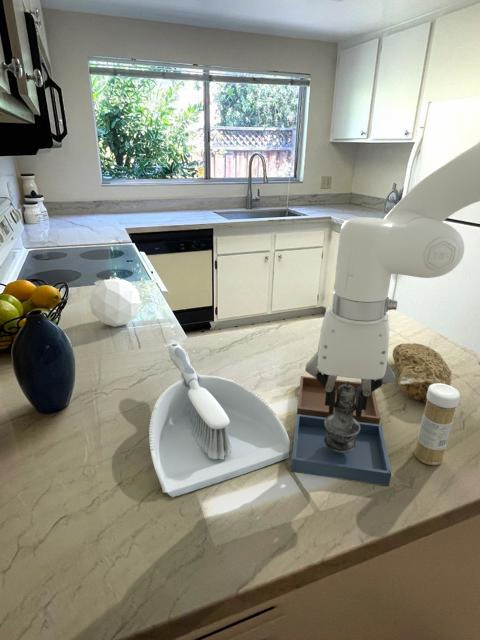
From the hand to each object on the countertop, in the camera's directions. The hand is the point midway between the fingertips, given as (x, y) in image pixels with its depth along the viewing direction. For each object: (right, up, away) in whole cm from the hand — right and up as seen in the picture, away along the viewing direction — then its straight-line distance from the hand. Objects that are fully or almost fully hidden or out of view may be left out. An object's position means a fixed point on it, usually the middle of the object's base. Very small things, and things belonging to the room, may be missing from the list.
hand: (344, 409), depth 66 cm
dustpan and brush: (-25, -5, +12) cm, 28 cm away
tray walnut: (+2, -3, +16) cm, 17 cm away
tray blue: (0, -8, +3) cm, 9 cm away
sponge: (+23, +1, +25) cm, 34 cm away
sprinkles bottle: (+15, -9, +3) cm, 18 cm away
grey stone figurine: (0, -6, +3) cm, 7 cm away
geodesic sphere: (-53, +13, +53) cm, 76 cm away
